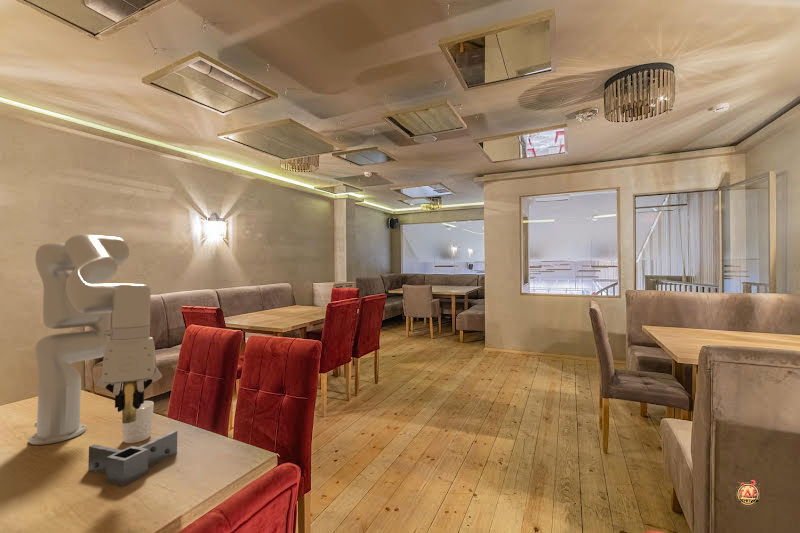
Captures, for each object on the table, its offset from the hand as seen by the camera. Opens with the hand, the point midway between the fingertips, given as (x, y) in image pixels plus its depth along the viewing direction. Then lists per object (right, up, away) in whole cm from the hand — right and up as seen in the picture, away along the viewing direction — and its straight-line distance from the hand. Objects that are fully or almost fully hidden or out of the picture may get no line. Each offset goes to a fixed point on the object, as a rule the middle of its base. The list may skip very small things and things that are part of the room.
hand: (129, 407), depth 85 cm
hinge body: (-4, -17, +6) cm, 18 cm away
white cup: (-14, -18, +20) cm, 30 cm away
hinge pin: (0, -3, 0) cm, 3 cm away
